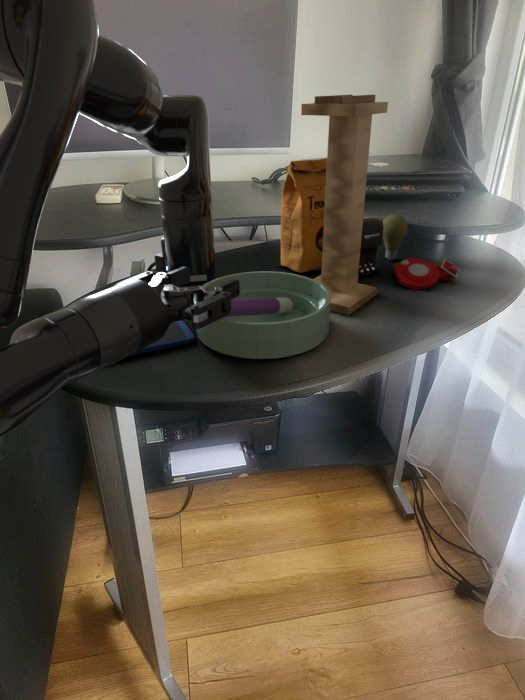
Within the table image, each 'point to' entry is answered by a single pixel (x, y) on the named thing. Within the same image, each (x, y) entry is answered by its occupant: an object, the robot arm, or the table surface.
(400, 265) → the tracker holder
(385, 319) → the table surface
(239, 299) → the glue stick
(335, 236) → the stand
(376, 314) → the table surface
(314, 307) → the bowl
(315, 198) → the coffee package
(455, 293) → the table surface
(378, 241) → the battery charger
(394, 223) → the light bulb
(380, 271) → the table surface
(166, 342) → the cell phone
